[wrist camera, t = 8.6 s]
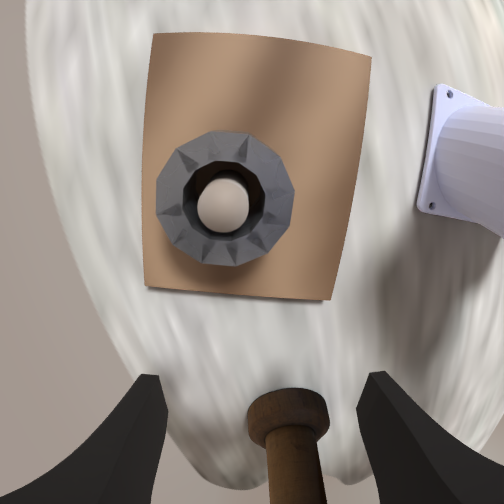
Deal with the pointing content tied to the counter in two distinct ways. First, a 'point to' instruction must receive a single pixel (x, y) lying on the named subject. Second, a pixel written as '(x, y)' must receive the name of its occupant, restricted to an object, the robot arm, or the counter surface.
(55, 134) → the counter surface
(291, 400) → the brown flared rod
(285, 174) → the hub ring
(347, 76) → the post board
